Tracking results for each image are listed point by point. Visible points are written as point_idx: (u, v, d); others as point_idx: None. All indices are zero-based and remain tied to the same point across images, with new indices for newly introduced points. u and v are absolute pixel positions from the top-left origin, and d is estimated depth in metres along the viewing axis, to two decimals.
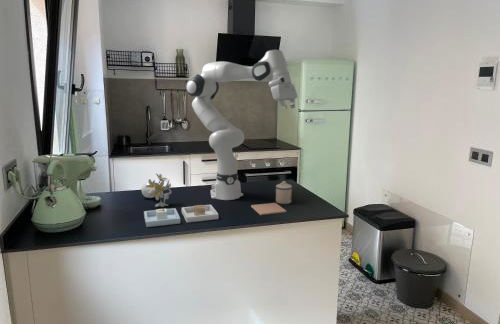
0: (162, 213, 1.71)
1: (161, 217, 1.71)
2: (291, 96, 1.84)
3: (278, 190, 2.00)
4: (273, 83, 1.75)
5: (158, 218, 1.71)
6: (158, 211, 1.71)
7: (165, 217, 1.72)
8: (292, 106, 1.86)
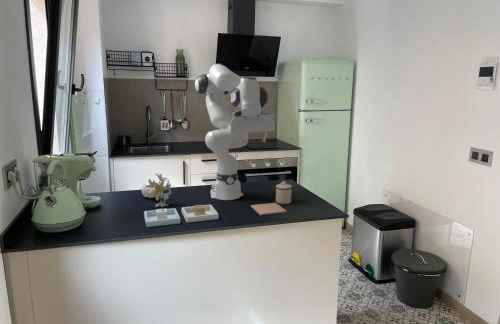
0: (162, 213, 1.71)
1: (161, 217, 1.71)
2: (257, 130, 1.66)
3: (278, 190, 2.00)
4: None
5: (158, 218, 1.71)
6: (158, 211, 1.71)
7: (165, 217, 1.72)
8: (262, 140, 1.68)
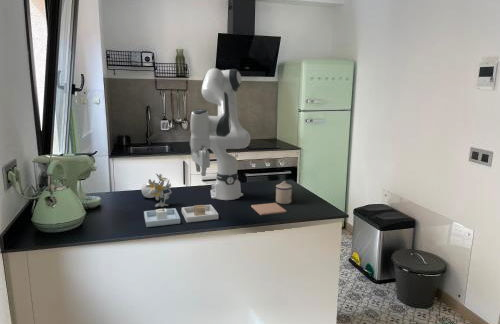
0: (162, 213, 1.71)
1: (161, 217, 1.71)
2: (198, 163, 1.71)
3: (278, 190, 2.00)
4: None
5: (158, 218, 1.71)
6: (158, 211, 1.71)
7: (165, 217, 1.72)
8: None
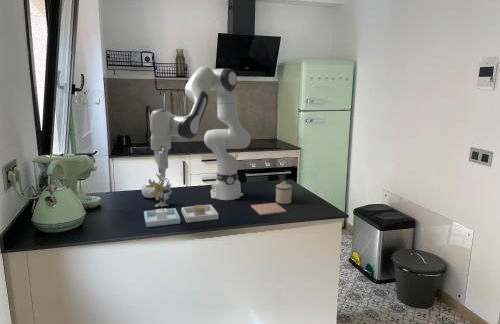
0: (162, 213, 1.71)
1: (161, 217, 1.71)
2: None
3: (278, 190, 2.00)
4: None
5: (158, 218, 1.71)
6: (158, 211, 1.71)
7: (165, 217, 1.72)
8: None
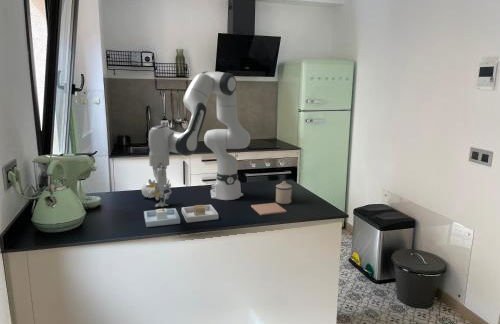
0: (162, 213, 1.71)
1: (161, 217, 1.71)
2: (156, 180, 1.66)
3: (278, 190, 2.00)
4: None
5: (158, 218, 1.71)
6: (158, 211, 1.71)
7: (165, 217, 1.72)
8: None
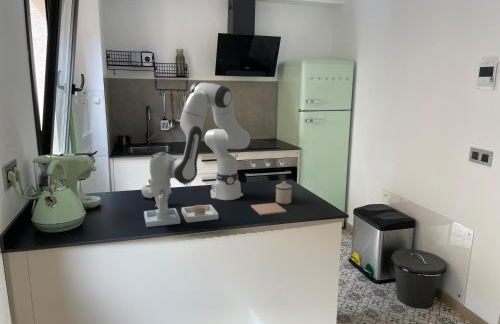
0: None
1: None
2: None
3: (278, 190, 2.00)
4: None
5: (158, 218, 1.71)
6: (158, 211, 1.71)
7: (165, 217, 1.72)
8: None
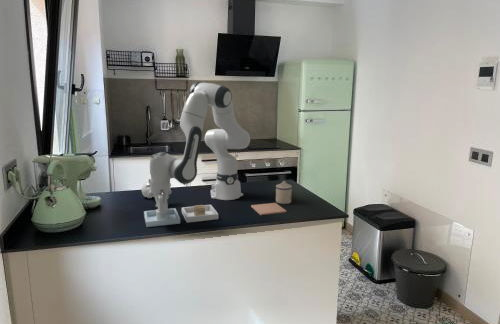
0: None
1: None
2: None
3: (278, 190, 2.00)
4: None
5: (158, 218, 1.71)
6: (158, 211, 1.71)
7: (165, 217, 1.72)
8: None
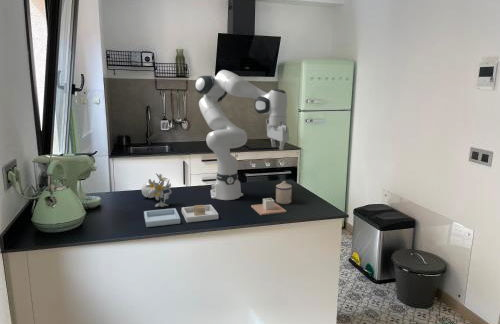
0: (270, 202, 1.88)
1: (269, 205, 1.88)
2: (276, 138, 1.86)
3: (278, 190, 2.00)
4: None
5: (266, 206, 1.88)
6: (266, 200, 1.88)
7: (272, 205, 1.89)
8: None
